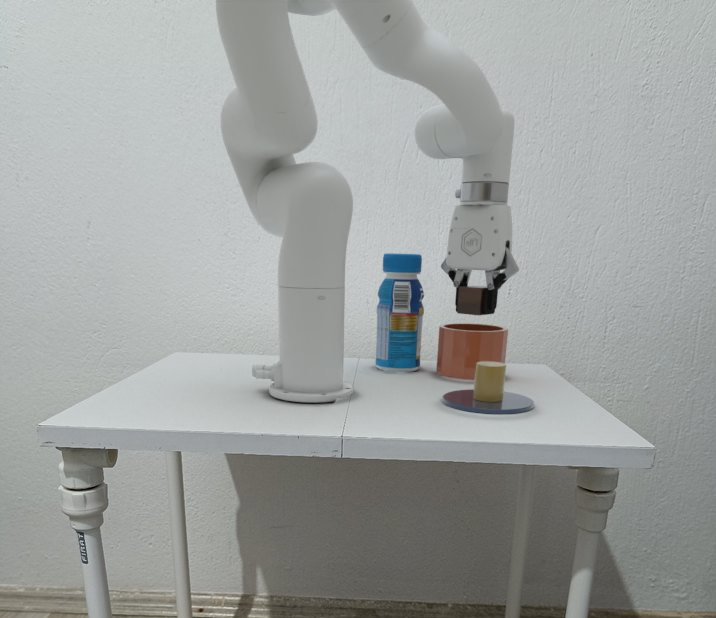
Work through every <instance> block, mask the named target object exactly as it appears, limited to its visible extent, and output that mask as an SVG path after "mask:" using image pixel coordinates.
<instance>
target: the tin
mask: <svg viewBox="0 0 716 618" xmlns="http://www.w3.org/2000/svg"><path fill="white" fill-rule="evenodd" d="M508 336H509V329H508V327H505V326H501V325H497V324H496V325H495V324H486V323H474V322H473V323H471V322H470V323H469V322H467V323H466V322H453V323H443V324H439V327H438V342H437V357H436V372H435V373H436V374H437V375H439V376H442V377H447V378H450V379H457V380H469V381H470V380H471V381H474V379H475V367H476V363H477V362H482V361H491V362H500V363H504V364H506V356H507V347H508V338H509V337H508Z"/></svg>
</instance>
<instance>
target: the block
mask: <svg viewBox="0 0 716 618" xmlns="http://www.w3.org/2000/svg"><path fill="white" fill-rule="evenodd" d="M484 290H487V285H486V286H483V285H468V286H459V295H458V309H457V312H456V313H457V314H460V315H461V314H462V315H469V316H485V315H484V314H482V305H483V293H484Z"/></svg>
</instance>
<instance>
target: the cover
mask: <svg viewBox="0 0 716 618" xmlns="http://www.w3.org/2000/svg"><path fill="white" fill-rule="evenodd" d="M506 373H507V364H506V363H505V364H504V363H500V362H491V361H482V362H477V363H476V367H475V379H474V380H473V389H458V390H452V391H449V392H446V393H444V394H443V395H442V399H441V400H442V403H443V404H444V405H446V406H448V407H451V408H452V409H457V410H461V411H465V412H470V413H478V414H489V415H490V414H491V415H492V414H493V415H508V414H520V413H525V412H529V411H531V410H532V409H533V408H534V406H535V405H534V404H535V402H534V400H533V399H532V398H530V397H528V396H525V395H522V394H519V393H515V392H510V391H509V392H508V391H505V382H506Z"/></svg>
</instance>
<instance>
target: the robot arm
mask: <svg viewBox="0 0 716 618" xmlns="http://www.w3.org/2000/svg"><path fill="white" fill-rule="evenodd" d="M335 10H336V11H337V13H338V14H339V16H340V18H341V19H342V20H343V21H344V23H345V24H346V25H347V28H348V29H349V30H350V32H351V33H352V35H353V36H354V38H355V40H356V41H357V43H358V44H359V46H360V47H361V49H362V50H363V51H364V54H365V55H366V56H367V58H368V60H369V61H370V63H371V64H372V65H373V67H374V68H376V70H379V71H381V72H383V73H385V74H388V75H390V76H393V77H395V78H399V79H402V80H406V81H409V82H412V83H415V84H417V85H419V86H421V87H423V88H425V89H426V90H428V92H429V91H430V93H432V94H433V95H435V96H436V97H437V98H438V100H440V101H441V102H442V103H440V104H436V105H433V106H431V107H429V108H428V109H426V110H425V111H423V113H421V114H420V115H419V117H418V119H417V121H416V123H415V125H414V126H415V127H414V139H415V140H414V141H415V144H416V145H417V147H418V149H419V150H420V151H421V152H422V153H423V154H424V155H425V156H427V157H429V158H431V159H434V160H450V159H461V160H462V171H461V184H460V188H459V189H456V190H455V193H454V197H455V198H456V199H459V205H455V207H454V210H453V213H452V216H451V221H450V225H449V232H448V238H447V245H446V246H447V247H446V256H445V258H444V260H443V261H442V263H441V265H440V268H441V270H443V272H445V274H446V275H448V277H449V279H450V280H451V282H452V283H453V287H454V288H455V301H454V304H455V312H456V313H457V309H458V295H459V286H469V281H470V278H471V274H472V271H484V273H485V281H486V287H487V290H484V293H483V305H482V314H484V315H483V316H486V315H494V314H495V311H496V309H497V306H498V296H499V295H498V293H499V290H500V289H501V288H502V287H503V285H504V284H505V283H506V282H508V280H509V279H510V278H512V277H513V276H514V275H516V274H517V273H518V272H519V271H520V268H519V265H518V263H517V262H516V260H515V258H514V255H513V254H512V252H513V219H512V218H513V217H512V208H511V205H508V201H509V199H508V198H509V191H510V190H509V188H510V178H511V167H512V154H513V146H514V132H515V116H514V113H512V111H511V110H510V109H509V110H508V109H506V108H502V107H501V105H500V102H499V99H498V98H497V96H496V94H495V91H494V89H493V88H492V86H491V84H490V82H489V80H488V79H487V76H486V75H485V73H484V72H483V70H482V69H481V67H480V66H479V64H478V63H477V62H476V60H475V59H474V58H473V57H471V55H470V54H469V53H467V52H466V51H465V49H463V48H461V47H460V46H459V45H458V44H456V43H455V42H454V41H452V40H451V39H450V38H449V37H448V36H446V35H445V34H444V33H442V32H440V31H439V30H437V29H436V28H434V27H432V26H431V25H430V24H429V23H428V22H426V21H425V19H424V18H423V17H422V15H421V12H419V10H418V8H417V7H416V4H415V3H414V1H413V0H215V12H216V20H217V27H218V30H219V35H220V40H221V42H222V45H223V49H224V52H225V55H226V59H227V62H228V64H229V68H230V71H231V74H232V77H233V80H234V83H235V88H234V89H233V90H231V92H230V93H229V94H228V95H227V96H226V98H225V100H224V102H223V105H222V108H221V113H220V130H221V137H222V141H223V144H224V147H225V150H226V153H227V155H228V158H229V160H230V163H231V166H232V168H233V171H234V174H235V176H236V178H237V181H238V184H239V186H240V188H241V191H242V193H243V197H244V198H245V201H246V203H247V206H248V208H249V210H250V212H251V214H252V216H253V218H254V219H255V221H256V223H257V224H258V225H259V226H260V227H261V228H262V230H264V231H265V232H267V233H268V234H270V235H272V236H275V237H280V238H282V240H281V243H280V248H279V255H278V261H277V296H278V297H277V302H278V303H277V304H278V306H277V307H278V362H276V363H273V364H272V365H266V364H255V363H254V364H252V367H251V375H252V377H253V378H255V379H257V380H270V381H272V382H273V383H271V384H270V385H269V386H268V393H269V395H270V396H271V397H273V398H275V399H277V400H283V401H287V402H296V403H312V404H313V403H314V404H315V403H332V402H335V401H337V400H338V399H342V398H346V397H350V396H351V395H352V394H354V386H353V385H351V384H350V383H348V382H345V381H344V360H345V359H344V357H345V305H346V304H345V303H346V301H345V300H346V299H345V298H346V261H347V260H346V258H347V250H348V249H347V248H348V247H347V246H348V242H349V241H348V240H349V236H350V235H349V234H350V229H351V225H352V220H353V219H352V218H353V211H354V198H353V192H352V188H351V185H350V184H349V181H348V180H347V179H346V177H345V175H344V174H343V173H342V172H341V171H340V170H339V169H337V168H336V167H335V166H333V165H331V164H328V163H325V162H320V161H307V162H306V161H305V162H301V163H297V161H296V158H295V156H294V155H295V154H299V153H300V152H303V151H304V150H306V149H307V148H309V146H310V145H312V143H313V142H314V140H315V138H316V136H317V133H318V127H319V123H318V114H317V109H316V105H315V103H314V99H313V95H312V93H311V90H310V87H309V83H308V81H307V77H306V74H305V72H304V68H303V65H302V62H301V59H300V55H299V54H298V49H297V47H296V43H295V40H294V36H293V31H292V28H291V23H290V18H289V13H290V14H295V15H300V16H307V17H308V16H310V17H316V16H317V17H318V16H324V15H326V14H329V13H331V12H333V11H335ZM501 271H502V272H501Z"/></svg>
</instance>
